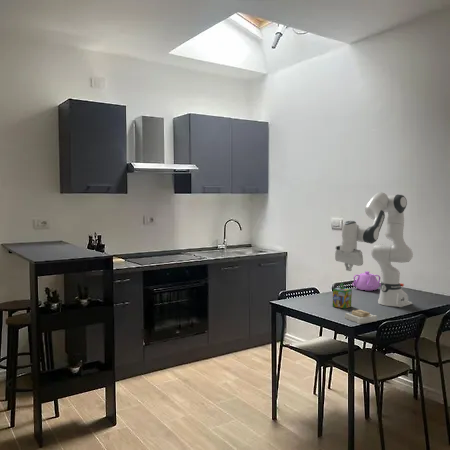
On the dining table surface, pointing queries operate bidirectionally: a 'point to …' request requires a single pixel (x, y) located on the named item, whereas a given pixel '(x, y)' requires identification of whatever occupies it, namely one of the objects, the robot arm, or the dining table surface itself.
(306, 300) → the dining table surface
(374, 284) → the teapot
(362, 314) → the cart block
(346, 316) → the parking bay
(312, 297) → the dining table surface
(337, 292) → the chalk box
